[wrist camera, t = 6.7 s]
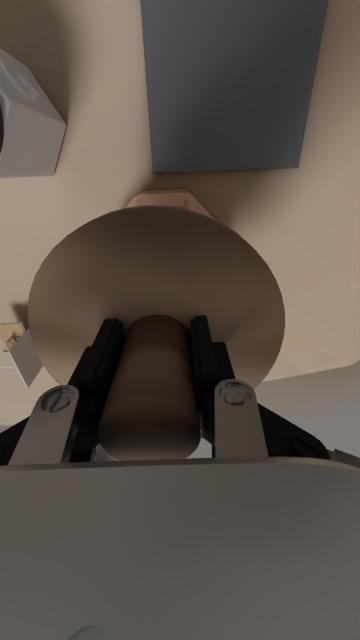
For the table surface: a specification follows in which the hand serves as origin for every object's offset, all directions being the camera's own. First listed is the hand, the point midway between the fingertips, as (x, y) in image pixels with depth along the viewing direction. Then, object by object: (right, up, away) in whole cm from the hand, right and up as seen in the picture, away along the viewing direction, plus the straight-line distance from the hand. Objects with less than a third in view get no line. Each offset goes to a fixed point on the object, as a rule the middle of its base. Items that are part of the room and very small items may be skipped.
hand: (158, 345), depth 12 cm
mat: (+5, +22, +9) cm, 24 cm away
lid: (0, +1, +1) cm, 1 cm away
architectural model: (-18, -1, +23) cm, 30 cm away
